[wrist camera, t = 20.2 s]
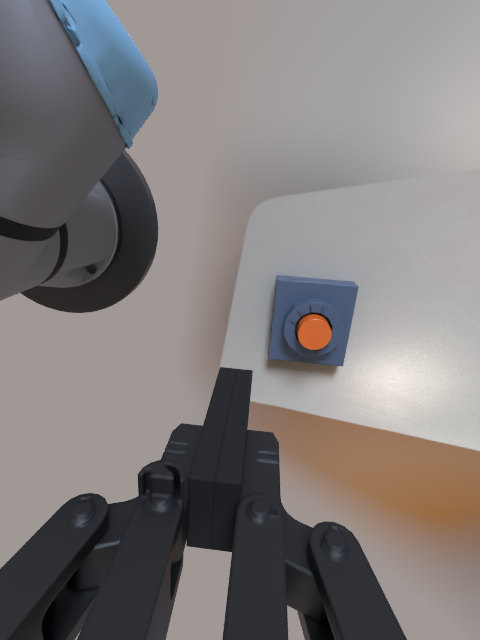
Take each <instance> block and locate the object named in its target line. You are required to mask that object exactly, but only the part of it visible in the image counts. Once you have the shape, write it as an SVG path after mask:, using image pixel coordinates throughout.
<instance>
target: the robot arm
mask: <svg viewBox="0 0 480 640" xmlns="http://www.w3.org/2000/svg"><path fill="white" fill-rule="evenodd" d="M157 98H158V88H157V82H156V79H155V76H154V74H153V72H152V70H151V68H150V67H149V65H148V63H147V62H146V60H145V59H144V57H143V55H142V54H141V52H140V51H139V49H138V48H137V46H136V45H135V43H134V42H133V40H132V39H131V37H130V36H129V35H128V33H127V31H126V30H125V29H124V27H123V25H122V24H121V22H120V21H119V20H118V18H117V17H116V15H115V14H114V12H113V11H112V9H111V8H110V6H109V5H108V4H107V2H106V1H105V0H0V300H3V299H5V298H8V297H10V296H13V295H15V294H18V293H20V292H23V291H25V290H28V289H30V288H33V287H35V286H46V287H58V288H67V287H76V286H80V285H83V284H86V283H88V282H90V281H92V280H94V279H96V278H98V277H100V276H101V275H102V274H104V273H105V272H106V271H107V270H108V269H109V268H110V267H111V265H112V264H113V262H114V261H115V259H116V257H117V255H118V252H119V249H120V245H121V240H122V222H121V216H120V212H119V208H118V206H117V203H116V201H115V198H114V196H113V194H112V193H111V191H110V189H109V188H108V186H107V185H106V183H105V182H104V181H103V180H102V179H101V178H102V177H103V175H104V174H105V173H106V172H107V170H108V169H109V168H110V167H111V166H112V164H113V163H114V162H115V161H116V159H117V158H118V157H119V156H120V154H121V153H122V152H123V151H124V150H125V148H126V147H127V148H128V149H129V148H130V147H131V146H132V144H133V142H132V139H133V138H134V136H135V135H136V134H137V132H138V131H139V129H140V128H141V127H142V126H143V124H144V123H145V121H146V120H147V119H148V117H149V116H150V115H151V113H152V112H153V110H154V108H155V106H156V103H157ZM252 372H253V371H252V370H242V369H232V368H223V367H220V370H219V373H218V377H217V380H216V384H215V387H214V390H213V394H212V397H211V401H210V404H209V408H208V411H207V414H206V418H205V421H204V425H203V426H199V425H191V424H180V425H179V426H178V427H177V428H176V429H175V430H174V431H173V432H172V434H171V436H170V439H169V441H168V444H167V446H166V448H165V452H164V453H163V456H162V458H161V460H159V461H155V462H152V463H150V464H148V465H147V466H145V467H144V468H142V470H141V471H140V472H139V474H138V488H139V489H138V490H139V496H138V497H136V498H134V499H132V500H128V501H125V502H119V503H113V504H107V502H106V500H105V498H103V497H102V496H100V495H99V494H93V493H88V494H82V495H79V496H77V497H74V498H72V499H70V500H69V501H68V502H66V503H65V504H64V505H63V506H62V507H61V508H60V509H59V510H58V511H57V512H56V513H55V514H54V515H53V516H52V517H51V518H50V519H49V520H48V521H47V522H46V523H45V524H44V525H43V526H42V527H41V528H40V529H39V530H38V531H37V532H36V533H35V534H34V536H32V537H31V539H29V541H27V542H26V543H25V545H23V547H22V548H21V549H20V550H19V551H18V552H17V553H16V554H15V555H14V556H13V557H12V558H11V559H10V560H9V561H8V562H7V563H6V564H5V565H4V566H3V567H2V568H1V569H0V640H75V638H76V636H77V635H78V634H79V632H80V631H81V632H80V634H79V636H78V639H77V640H166V635H167V631H168V627H169V622H170V618H171V614H172V610H173V605H174V601H175V597H176V592H177V588H178V584H179V580H180V575H181V571H182V567H183V551H184V548H185V543H186V539H187V546H190V547H198V548H205V549H213V550H221V551H228V552H232V559H231V569H230V577H229V586H228V596H227V605H226V614H225V623H224V632H223V640H288V622H287V605H288V606H290V607H292V608H294V609H296V610H297V611H298V615H299V619H300V623H301V626H302V630H303V634H304V637H305V640H407V639H406V637H405V635H404V633H403V631H402V629H401V627H400V625H399V623H398V621H397V619H396V617H395V615H394V613H393V611H392V609H391V607H390V605H389V603H388V601H387V599H386V597H385V595H384V593H383V591H382V588H381V586H380V585H379V583H378V581H377V578H376V576H375V574H374V572H373V570H372V569H371V566H370V564H369V562H368V560H367V558H366V556H365V554H364V552H363V550H362V548H361V546H360V544H359V542H358V541H357V539H356V538H355V536H354V535H353V533H352V532H350V531H349V530H348V529H346V528H345V527H344V526H342V525H340V524H337V523H334V522H322V523H318V524H317V525H316V526H315V527H314V528H312V527H309V526H307V525H305V524H303V523H300V522H299V521H297V520H295V519H293V518H292V517H291V516H290V515H289V514H287V512H286V510H285V509H284V507H283V505H282V503H281V498H280V471H279V443H278V441H277V439H276V437H275V436H274V434H273V433H271V432H262V431H253V430H247V426H248V415H249V404H250V394H251V383H252Z"/></svg>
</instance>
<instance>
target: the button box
mask: <svg viewBox="0 0 480 640" xmlns="http://www.w3.org/2000/svg"><path fill="white" fill-rule="evenodd" d="M357 291H358V286H357V285H356V284H355V283H354V282H349V281H337V280H325V279H314V278H302V277H291V276H279V275H277V282H276V292H275V301H274V310H273V319H272V328H271V338H270V347H269V359H276V360H286V361H296V362H306V363H316V364H326V365H336V366H343V363H344V358H345V353H346V348H347V342H348V337H349V332H350V327H351V322H352V317H353V312H354V307H355V301H356V296H357ZM310 314H317V315H320V316H322V317H324V318H325V319H326V320H327V322H328V324H329V326H330V328H331V332H332V336H331V339H330V341H329V343H328V344H327V345H326V346H325V347H323V348H321V349H317V350H311V349H307V348H305V347H304V346H303V345H302V344H301V343H300V341H299V339H298V334H297V325H298V323H299V321H300V320H301V319H302V318H303V317H305V316H307V315H310Z"/></svg>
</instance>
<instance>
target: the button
mask: <svg viewBox="0 0 480 640" xmlns="http://www.w3.org/2000/svg"><path fill="white" fill-rule="evenodd" d="M297 334H298V339H299V341H300V343H301V344H302V345H303V346H304V347H305V348H307V349H311V350H317V349H321V348H323V347H325V346H326V345H327V344H328V343H329V341H330V339H331V336H332V332H331V328H330V326H329V324H328V322H327V320H326V319H325V318H324V317H322V316H320V315H317V314H310V315H307V316H305V317H303V318H302V319H301V320H300V321H299V323H298V325H297Z"/></svg>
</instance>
